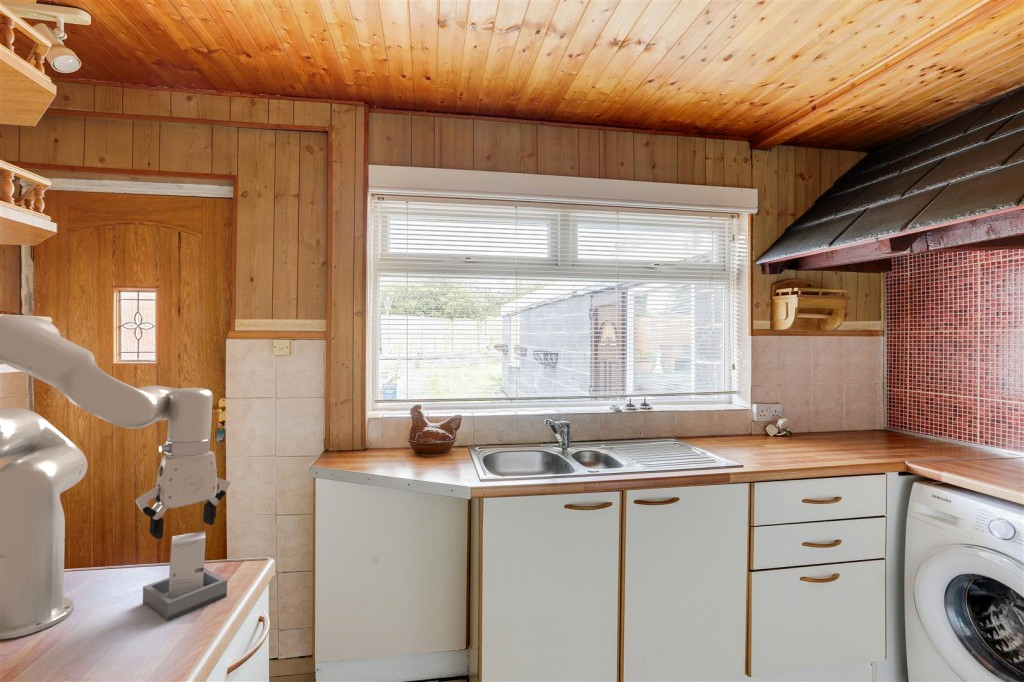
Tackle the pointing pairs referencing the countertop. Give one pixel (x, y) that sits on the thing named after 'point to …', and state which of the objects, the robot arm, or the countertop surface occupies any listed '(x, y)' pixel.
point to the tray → (183, 596)
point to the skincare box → (186, 564)
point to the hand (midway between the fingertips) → (183, 529)
